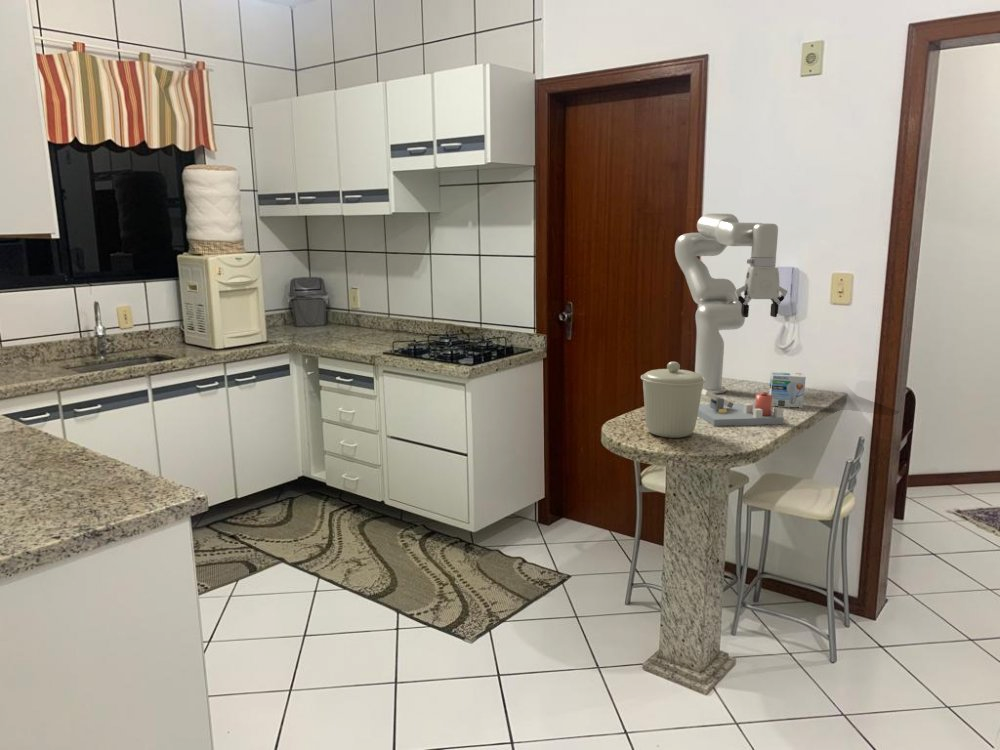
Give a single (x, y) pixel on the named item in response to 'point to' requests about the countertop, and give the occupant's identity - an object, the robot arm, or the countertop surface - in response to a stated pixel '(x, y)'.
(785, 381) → the light bulb box
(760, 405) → the cap
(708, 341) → the robot arm
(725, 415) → the panel
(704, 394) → the lever
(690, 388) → the canister
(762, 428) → the countertop surface
